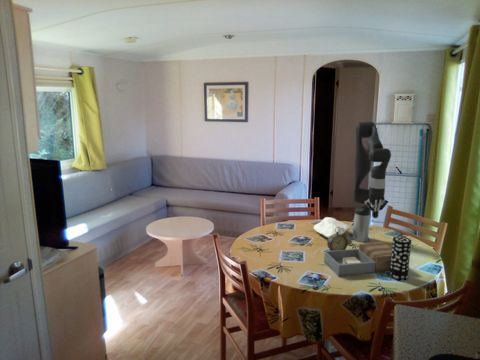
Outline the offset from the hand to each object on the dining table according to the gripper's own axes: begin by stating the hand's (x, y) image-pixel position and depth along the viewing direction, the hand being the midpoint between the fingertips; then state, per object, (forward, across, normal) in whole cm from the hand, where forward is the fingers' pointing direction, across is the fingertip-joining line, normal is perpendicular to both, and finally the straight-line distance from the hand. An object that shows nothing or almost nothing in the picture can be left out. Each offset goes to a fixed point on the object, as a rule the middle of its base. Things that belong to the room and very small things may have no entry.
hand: (374, 217), depth 194 cm
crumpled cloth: (+27, +4, -44) cm, 52 cm away
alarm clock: (+26, +14, -14) cm, 33 cm away
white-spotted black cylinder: (+26, -4, +19) cm, 32 cm away
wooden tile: (+22, +14, +4) cm, 26 cm away
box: (+26, +16, +4) cm, 30 cm away
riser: (+26, -2, +4) cm, 26 cm away
